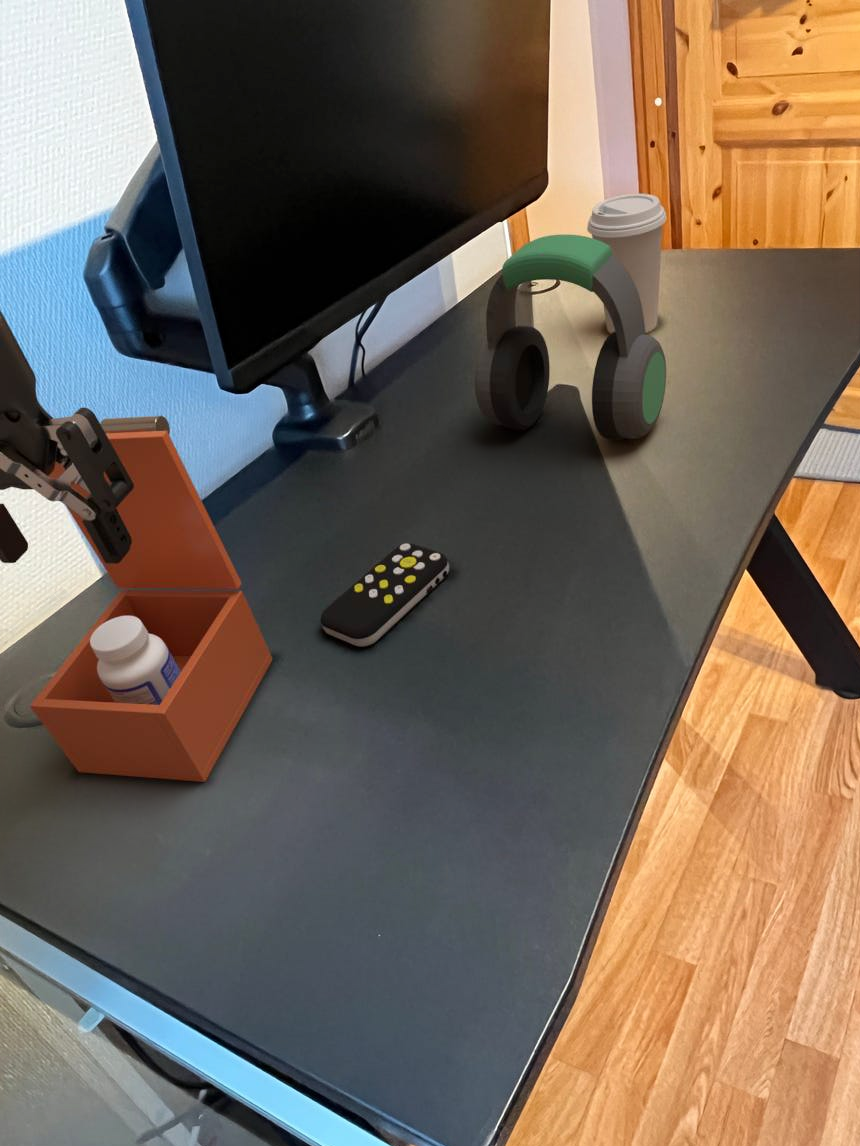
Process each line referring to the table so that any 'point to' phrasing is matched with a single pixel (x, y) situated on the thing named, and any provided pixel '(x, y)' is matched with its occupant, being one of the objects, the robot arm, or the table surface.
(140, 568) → the box lid
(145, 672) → the pill bottle
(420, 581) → the remote control
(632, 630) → the table surface
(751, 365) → the table surface
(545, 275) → the headphones
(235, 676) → the orange lidded box
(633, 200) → the coffee cup
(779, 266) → the table surface
